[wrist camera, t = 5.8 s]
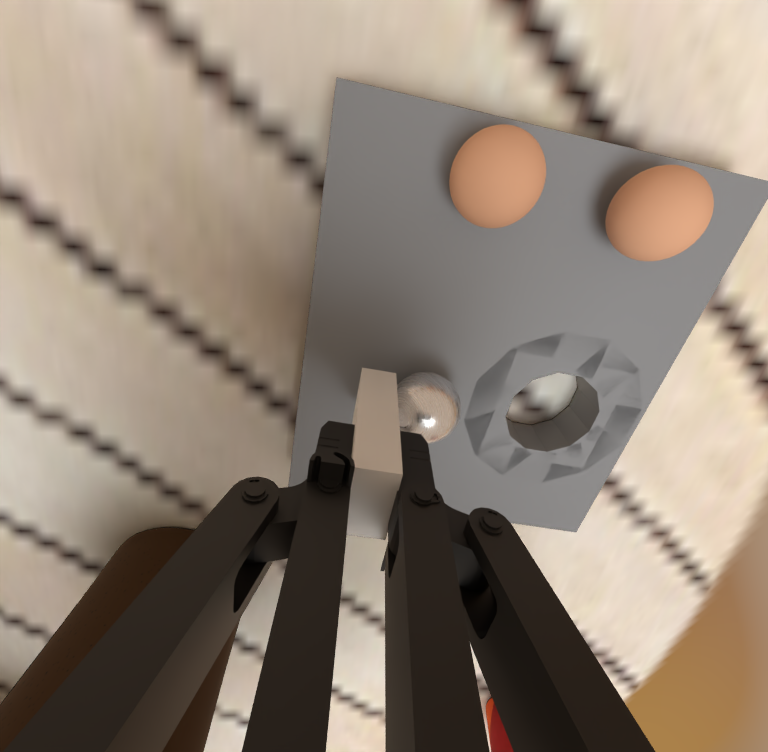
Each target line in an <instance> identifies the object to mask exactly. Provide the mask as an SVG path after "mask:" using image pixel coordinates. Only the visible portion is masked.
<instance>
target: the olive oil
mask: <svg viewBox="0 0 768 752" xmlns="http://www.w3.org/2000/svg"><path fill="white" fill-rule="evenodd" d="M193 532H194V531H193V530H189V529H183V528H156V529H151V530H147V531H143V532H140V533H138V534H136V535H134V536H132V537H130V538H129V539H128V540H126V541H125V542H124V543H123V544H122V545H121V546H120V547H119V549H118V550H117V551H116V553H115V554H114V555H113V557H112V558H111V559H110V561H109V562H108V563H107V565H106V566H105V567H104V569H103V570H102V571H101V573H100V574H99V575H98V577H97V578H96V580H95V581H94V582H93V584H92V585H91V586H90V588H89V589H88V590H87V592H86V593H85V594H84V596H83V597H82V598H81V600H80V601H79V603H78V604H77V605H76V606H75V607H74V609H73V610H72V611H71V613H70V614H69V615H68V617H67V618H66V619H65V621H64V622H63V623H62V625H61V626H60V627H59V628H58V630H57V631H56V632H55V634H54V635H53V636H52V638H51V639H50V640H49V642H48V643H47V644H46V645H45V647H44V648H43V649H42V651H41V652H40V653H39V655H38V656H37V657H36V659H35V660H34V661H33V662H32V664H31V665H30V666H29V668H28V669H27V670H26V672H25V673H24V674H23V676H22V677H21V678H20V679H19V681H18V682H17V683H16V685H15V686H14V687H13V689H12V690H11V691H10V692H9V694H8V695H7V696H6V698H5V699H4V700H3V702H2V703H1V704H0V752H3V751H4V750H5V749H6V747H7V746H8V745H9V744H10V743H11V742H12V741H13V739H14V738H15V737H16V736H17V735H18V734H19V732H20V731H21V730H22V729H23V728H24V727H25V726H26V724H27V723H28V722H29V721H30V720H31V719H32V718H33V716H34V715H35V714H36V713H37V712H38V711H39V709H40V708H41V707H42V706H43V705H44V704H45V703H46V701H47V700H48V699H49V698H50V697H51V696H52V694H53V693H54V692H55V691H56V690H57V689H58V688H59V686H60V685H61V684H62V683H63V682H64V681H65V679H66V678H67V677H68V676H69V675H70V674H71V673H72V671H73V670H74V669H75V668H76V667H77V666H78V664H79V663H80V662H81V661H82V660H83V659H84V658H85V656H86V655H87V654H88V653H89V652H90V651H91V650H92V648H93V647H94V646H95V645H96V644H97V643H98V641H99V640H100V639H101V638H102V637H103V636H104V635H105V633H106V632H107V631H108V630H109V629H110V628H111V626H112V625H113V624H114V623H115V622H116V621H117V620H118V618H119V617H120V616H121V615H122V614H123V613H124V611H125V610H126V609H127V608H128V607H129V606H130V605H131V603H132V602H133V601H134V600H135V599H136V598H137V596H138V595H139V594H140V593H141V592H142V591H143V590H144V588H145V587H146V586H147V585H148V584H149V583H150V582H151V580H152V579H153V578H154V577H155V576H156V575H157V573H158V572H159V571H160V570H161V569H162V568H163V567H164V565H165V564H166V563H167V562H168V561H169V560H170V558H171V557H172V556H173V555H174V554H175V553H176V552H177V550H178V549H179V548H180V547H181V546H182V545H183V543H184V542H185V541H186V540H187V539H188V538H189V537H190V535H191V534H192V533H193ZM239 621H240V619H239ZM239 621H238V622H237V624H236V626H235V628H234V629H233V631H232V633H231V634H230V636H229V638H228V640H227V641H226V643H225V645H224V646H223V648H222V650H221V652H220V653H219V655H218V657H217V658H216V660H215V662H214V664H213V665H212V667H211V669H210V670H209V672H208V674H207V676H206V677H205V679H204V681H203V682H202V684H201V686H200V688H199V689H198V691H197V693H196V694H195V696H194V698H193V700H192V701H191V703H190V705H189V707H188V708H187V710H186V712H185V713H184V715H183V717H182V719H181V720H180V722H179V724H178V725H177V727H176V729H175V731H174V732H173V734H172V736H171V737H170V739H169V741H168V743H167V744H166V746H165V748H164V749H163V751H162V752H203V751H204V748H205V744H206V740H207V737H208V733H209V729H210V725H211V722H212V718H213V714H214V711H215V707H216V703H217V699H218V696H219V692H220V688H221V685H222V681H223V677H224V674H225V670H226V666H227V663H228V659H229V656H230V652H231V649H232V645H233V642H234V638H235V635H236V631H237V628H238V624H239Z"/></svg>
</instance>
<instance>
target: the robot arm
mask: <svg viewBox="0 0 768 752" xmlns="http://www.w3.org/2000/svg"><path fill="white" fill-rule="evenodd" d="M430 461H431V459H430V454H429V447H428V443H427V441H426V440H425V438H424V437H423V436H422V434H418V433H412V432H405V431H400V423H399V408H398V393H397V378H396V373H392V372H386V371H380V370H374V369H368V368H362V371H361V377H360V382H359V388H358V393H357V399H356V404H355V410H354V415H353V421H352V424H348V423H341V422H335V421H328V422H327V423H325V424H324V425H323V426H322V427H321V430H320V434H319V438H318V443H317V447H316V451H315V453H314V454H313V455H312V456H311V458H310V460H309V467H308V475H307V479H306V480H305V481H303V482H302V483H300V484H298V485H296V486H292V487H286V488H278V486H277V485H276V484H275V483H274V482H273V481H271V480H269V479H267V478H262V477H250V478H246V479H244V480H241V481H239V482H238V483H237V484H235V485H234V486H233V487H232V488H231V489H230V490H229V492H228V493H227V494H226V495H225V496H224V497H223V499H222V500H221V501H220V502H219V503H218V504H217V505H216V507H215V508H214V509H213V510H212V511H211V512H210V514H209V515H208V516H207V517H206V518H205V519H204V520H203V522H202V523H201V524H200V525H199V526H198V527H197V528H196V530H195V531H194V532H193V533H192V534H191V535H190V537H189V538H188V539H187V540H186V541H185V542H184V543H183V545H182V546H181V547H180V548H179V549H178V550H177V552H176V553H175V554H174V555H173V556H172V557H171V558H170V560H169V561H168V562H167V563H166V564H165V565H164V567H163V568H162V569H161V570H160V571H159V572H158V573H157V575H156V576H155V577H154V578H153V579H152V580H151V582H150V583H149V584H148V585H147V586H146V587H145V588H144V590H143V591H142V592H141V593H140V594H139V595H138V596H137V598H136V599H135V600H134V601H133V602H132V603H131V605H130V606H129V607H128V608H127V609H126V610H125V611H124V613H123V614H122V615H121V616H120V617H119V618H118V620H117V621H116V622H115V623H114V624H113V625H112V626H111V628H110V629H109V630H108V631H107V632H106V633H105V635H104V636H103V637H102V638H101V639H100V640H99V641H98V643H97V644H96V645H95V646H94V647H93V648H92V650H91V651H90V652H89V653H88V654H87V655H86V656H85V658H84V659H83V660H82V661H81V662H80V663H79V664H78V666H77V667H76V668H75V669H74V670H73V671H72V673H71V674H70V675H69V676H68V677H67V678H66V679H65V681H64V682H63V683H62V684H61V685H60V686H59V688H58V689H57V690H56V691H55V692H54V693H53V694H52V696H51V697H50V698H49V699H48V700H47V701H46V703H45V704H44V705H43V706H42V707H41V708H40V709H39V711H38V712H37V713H36V714H35V715H34V716H33V718H32V719H31V720H30V721H29V722H28V723H27V724H26V726H25V727H24V728H23V729H22V730H21V731H20V732H19V734H18V735H17V736H16V737H15V738H14V739H13V741H12V742H11V743H10V744H9V745H8V746H7V747H6V749H5V750H4V751H3V752H162V751H163V749H164V748H165V746H166V744H167V743H168V741H169V739H170V737H171V736H172V734H173V732H174V731H175V729H176V727H177V725H178V724H179V722H180V720H181V719H182V717H183V715H184V713H185V712H186V710H187V708H188V707H189V705H190V703H191V701H192V700H193V698H194V696H195V694H196V693H197V691H198V689H199V688H200V686H201V684H202V682H203V681H204V679H205V677H206V676H207V674H208V672H209V670H210V669H211V667H212V665H213V664H214V662H215V660H216V658H217V657H218V655H219V653H220V652H221V650H222V648H223V646H224V645H225V643H226V641H227V640H228V638H229V636H230V634H231V633H232V631H233V629H234V628H235V626H236V624H237V622H238V621H239V619H240V617H241V616H242V614H243V612H244V610H245V609H246V607H247V605H248V604H249V602H250V600H251V598H252V597H253V595H254V593H255V592H256V590H257V588H258V586H259V585H260V583H261V581H262V579H263V578H264V576H265V574H266V573H267V571H268V569H269V567H270V566H271V564H272V561H275V560H281V559H286V558H288V561H287V566H286V570H285V574H284V578H283V582H282V586H281V591H280V595H279V599H278V603H277V607H276V611H275V616H274V620H273V624H272V628H271V632H270V636H269V641H268V645H267V649H266V653H265V657H264V661H263V666H262V670H261V674H260V678H259V682H258V686H257V691H256V695H255V699H254V703H253V707H252V711H251V716H250V720H249V724H248V728H247V732H246V736H245V741H244V745H243V749H242V752H326V742H327V731H328V721H329V711H330V700H331V690H332V679H333V669H334V658H335V648H336V638H337V627H338V617H339V606H340V596H341V586H342V575H343V565H344V554H345V544H346V535H353V536H360V537H368V538H376V539H383V540H385V539H386V536H387V532H388V544H387V548H386V552H385V555H384V559H383V563H382V567H381V571H384V570H385V696H386V752H489V746H488V741H487V735H486V730H485V724H484V719H483V713H482V708H481V702H480V697H479V691H478V686H477V680H476V675H475V669H474V664H473V658H472V653H471V647H470V643H471V646H472V648H473V651H474V654H475V656H476V659H477V661H478V664H479V666H480V669H481V671H482V674H483V676H484V679H485V681H486V684H487V686H488V689H489V691H490V694H491V696H492V699H493V701H494V704H495V706H496V709H497V711H498V714H499V716H500V719H501V721H502V724H503V726H504V729H505V731H506V734H507V736H508V739H509V741H510V744H511V746H512V749H513V751H514V752H655V751H654V749H653V747H652V746H651V744H650V743H649V741H648V739H647V738H646V736H645V735H644V733H643V732H642V730H641V728H640V727H639V725H638V724H637V722H636V720H635V719H634V718H633V716H632V714H631V713H630V711H629V709H628V708H627V706H626V705H625V703H624V701H623V700H622V698H621V697H620V695H619V694H618V692H617V690H616V689H615V687H614V686H613V684H612V683H611V681H610V679H609V678H608V676H607V675H606V673H605V671H604V670H603V668H602V667H601V665H600V664H599V662H598V660H597V659H596V657H595V656H594V654H593V653H592V651H591V649H590V648H589V646H588V645H587V643H586V642H585V640H584V638H583V637H582V635H581V634H580V632H579V630H578V629H577V627H576V626H575V624H574V623H573V621H572V619H571V618H570V616H569V615H568V613H567V612H566V610H565V608H564V607H563V605H562V604H561V602H560V600H559V599H558V597H557V596H556V594H555V593H554V591H553V589H552V588H551V586H550V585H549V583H548V582H547V580H546V578H545V577H544V575H543V574H542V572H541V570H540V569H539V567H538V566H537V564H536V563H535V561H534V559H533V558H532V556H531V555H530V553H529V552H528V550H527V548H526V547H525V545H524V544H523V542H522V540H521V539H520V537H519V536H518V534H517V533H516V531H515V529H514V528H513V526H512V525H511V523H510V522H509V521H508V520H507V519H506V517H505V516H503V515H502V514H500V513H499V512H497V511H495V510H492V509H490V508H483V507H480V508H476V509H474V510H473V511H472V512H470V514H469V515H468V514H465V513H463V512H460V511H458V510H456V509H453V508H451V507H450V506H448V505H447V504H445V503H444V500H443V498H442V495H441V494H440V493H439V492H438V491H437V490H436V489H435V483H434V477H433V471H432V465H431V462H430ZM469 641H470V642H469Z"/></svg>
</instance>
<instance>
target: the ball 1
mask: <svg viewBox="0 0 768 752" xmlns="http://www.w3.org/2000/svg"><path fill="white" fill-rule="evenodd" d="M397 393H398V408H399V423H400V431H405V432H412V433H418V434H422V436H423V437H424V438H425V440H426V441H427V443H428V444H430V443H435V442H438V441H441V440H443V439H444V438H446V437H447V436H448V435H450V434H451V433H452V432H453V430H454V429H455V428H456V426H457V424H458V422H459V419H460V416H461V401H460V397H459V394H458V392H457V390H456V388H455V387H454V386H453V384H452V383H451V382H450V381H448V380H447V379H446V378H444V377H443V376H441V375H438V374H436V373H431V372H419V373H414V374H412V375H409V376H407V377H406V378H404V379H403V380H402V381H401V382H400V383H399V384H398V385H397Z"/></svg>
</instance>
